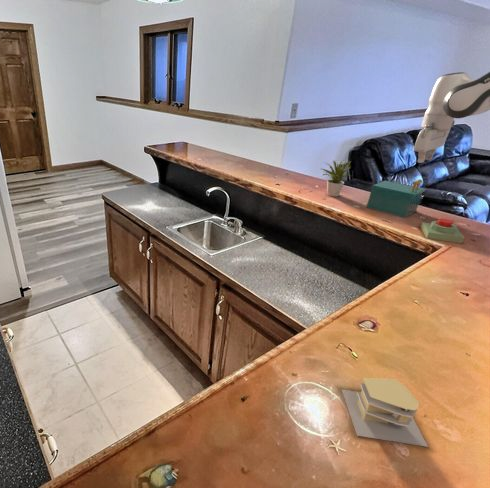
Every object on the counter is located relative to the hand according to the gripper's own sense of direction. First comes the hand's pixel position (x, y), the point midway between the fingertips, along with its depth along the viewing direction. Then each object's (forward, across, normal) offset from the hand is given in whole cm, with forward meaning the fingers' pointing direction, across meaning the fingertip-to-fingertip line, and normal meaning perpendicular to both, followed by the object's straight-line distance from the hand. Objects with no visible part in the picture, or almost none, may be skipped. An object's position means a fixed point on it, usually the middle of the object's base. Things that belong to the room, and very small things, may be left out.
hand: (424, 161), depth 132 cm
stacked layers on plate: (+21, -107, -35) cm, 114 cm away
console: (+21, -14, -16) cm, 30 cm away
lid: (+12, 0, +6) cm, 14 cm away
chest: (+21, 0, +6) cm, 22 cm away
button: (+17, -14, -16) cm, 27 cm away
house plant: (+21, +1, +32) cm, 38 cm away
